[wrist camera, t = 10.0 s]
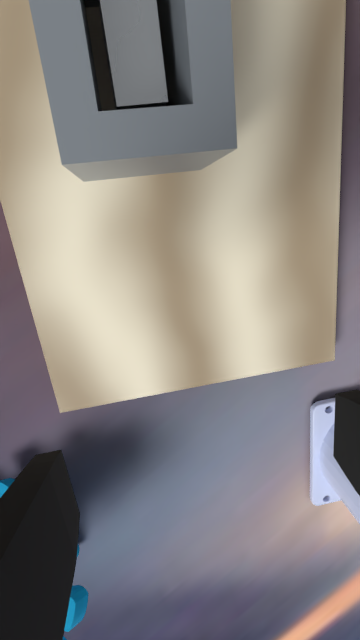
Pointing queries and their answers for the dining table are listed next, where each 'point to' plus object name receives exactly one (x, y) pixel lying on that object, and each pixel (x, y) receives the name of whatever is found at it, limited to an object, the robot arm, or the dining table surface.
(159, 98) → the key shaft
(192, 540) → the dining table surface
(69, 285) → the shaft board
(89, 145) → the grey hollow rectangular block
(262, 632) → the dining table surface
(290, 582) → the dining table surface
